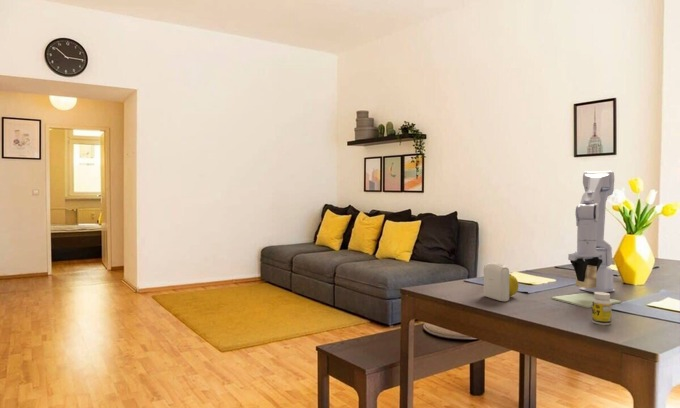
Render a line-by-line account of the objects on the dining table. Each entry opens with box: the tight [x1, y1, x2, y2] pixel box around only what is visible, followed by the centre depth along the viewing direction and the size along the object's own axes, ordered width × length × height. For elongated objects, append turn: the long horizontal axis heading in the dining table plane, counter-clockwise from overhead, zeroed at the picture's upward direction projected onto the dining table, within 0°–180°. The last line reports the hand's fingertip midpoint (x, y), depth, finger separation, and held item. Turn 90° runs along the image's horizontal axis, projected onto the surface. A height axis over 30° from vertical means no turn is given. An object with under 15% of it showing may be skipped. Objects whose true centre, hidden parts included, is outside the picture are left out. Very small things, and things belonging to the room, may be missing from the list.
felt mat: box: [551, 292, 622, 309], centre depth 166 cm, size 16×14×1 cm
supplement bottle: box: [591, 292, 612, 326], centre depth 139 cm, size 5×5×8 cm
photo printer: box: [483, 261, 510, 302], centre depth 170 cm, size 10×4×12 cm, turn 20°
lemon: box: [509, 273, 519, 298], centre depth 172 cm, size 6×6×8 cm
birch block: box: [575, 265, 597, 288], centre depth 166 cm, size 4×4×7 cm
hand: (586, 280), depth 166 cm, fingers closed on birch block, 4 cm apart
